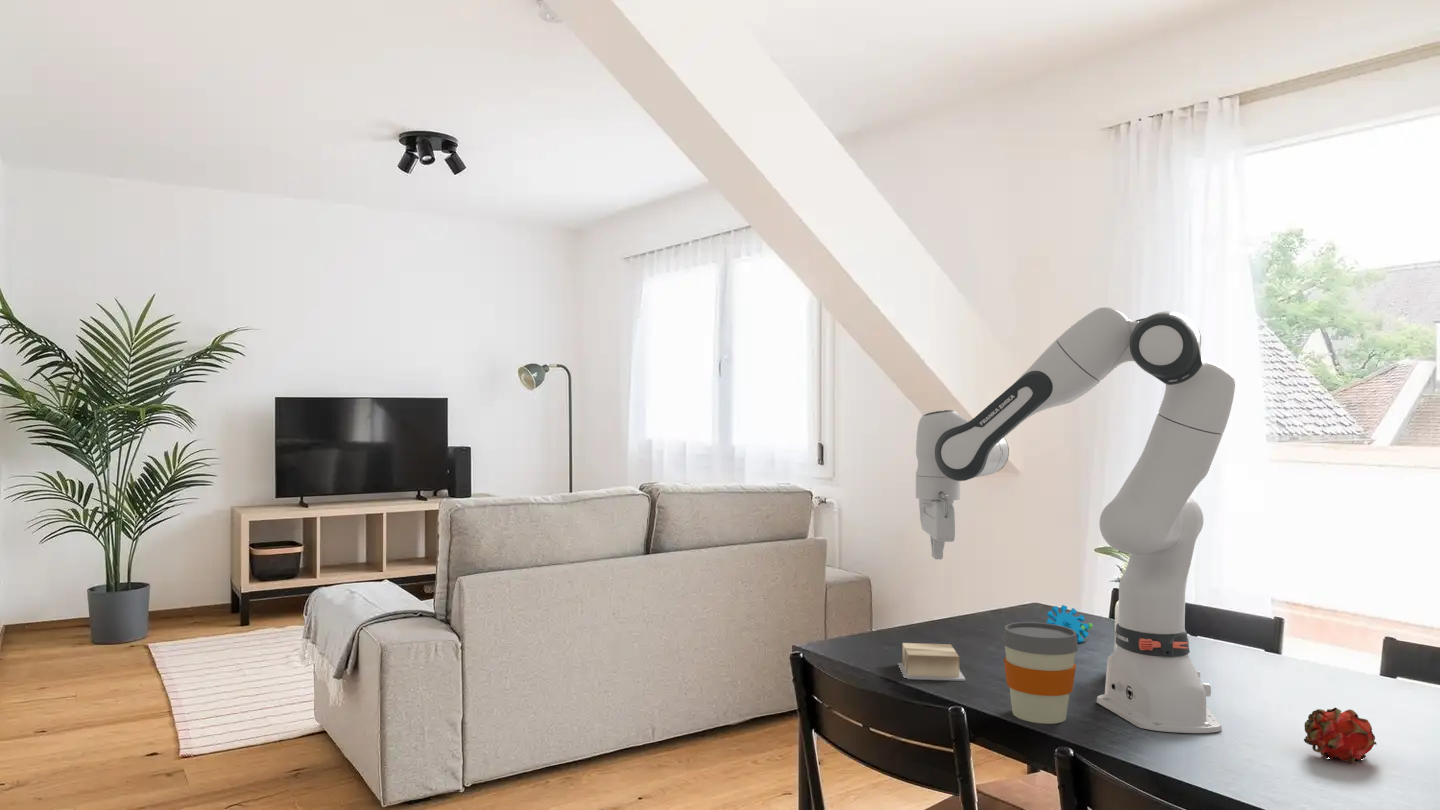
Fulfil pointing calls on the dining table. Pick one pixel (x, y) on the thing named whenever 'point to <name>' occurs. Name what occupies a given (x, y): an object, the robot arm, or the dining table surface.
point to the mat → (905, 675)
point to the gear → (1070, 621)
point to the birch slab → (930, 659)
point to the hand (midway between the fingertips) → (937, 558)
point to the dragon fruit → (1339, 734)
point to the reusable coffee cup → (1039, 670)
